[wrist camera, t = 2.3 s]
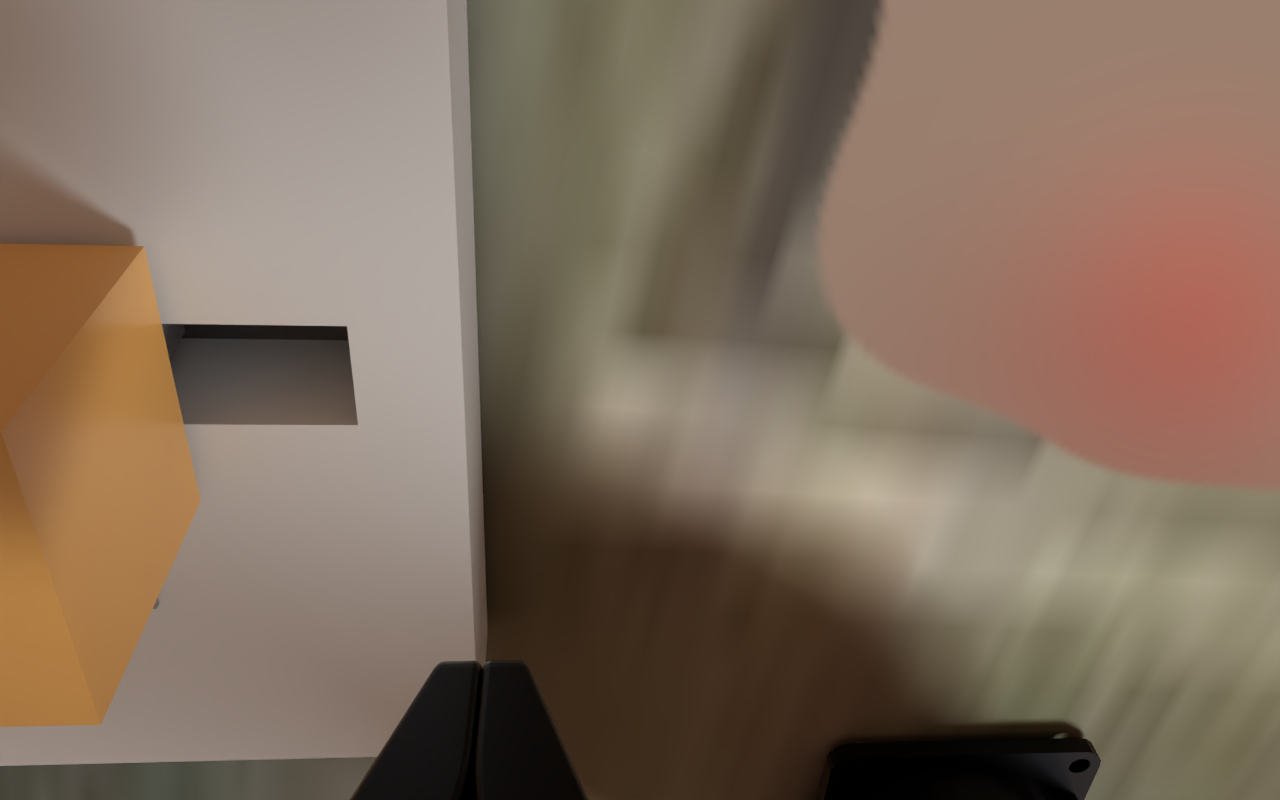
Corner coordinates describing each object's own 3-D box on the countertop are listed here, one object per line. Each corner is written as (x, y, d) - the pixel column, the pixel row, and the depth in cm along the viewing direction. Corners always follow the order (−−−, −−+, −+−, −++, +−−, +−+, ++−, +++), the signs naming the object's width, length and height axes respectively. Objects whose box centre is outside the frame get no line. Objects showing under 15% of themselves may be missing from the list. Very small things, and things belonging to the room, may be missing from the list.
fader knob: (196, 177, 15) (1, 431, 9) (240, 412, 17) (100, 725, 12) (19, 172, 14) (-282, 431, 9) (86, 411, 17) (-127, 729, 11)
